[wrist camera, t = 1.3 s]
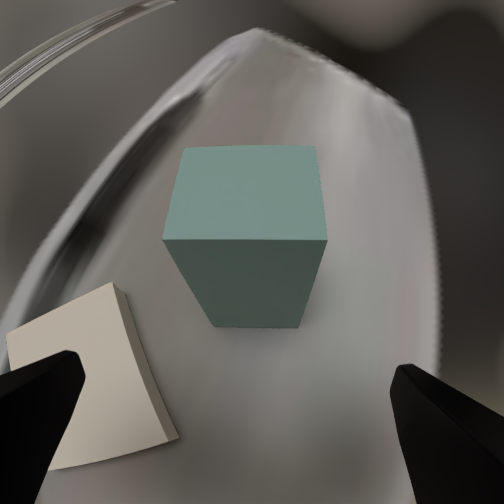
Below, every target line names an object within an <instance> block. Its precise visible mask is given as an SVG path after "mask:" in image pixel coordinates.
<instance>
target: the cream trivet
mask: <svg viewBox="0 0 504 504" xmlns="http://www.w3.org/2000/svg"><path fill="white" fill-rule="evenodd" d="M6 338H7V347H8V354H9V361H10V368H11V371H13V370H15V369H18V368H20V367H23V366H26V365H28V364H31V363H33V362H36V361H38V360H41V359H43V358H46V357H48V356H51V355H53V354H56V353H58V352H61V351H63V350H70V351H75V352H77V353H78V354H79V356H80V359H81V362H82V365H83V368H84V371H85V375H86V379H85V383H84V385H83V388H82V391H81V393H80V396H79V399H78V401H77V404H76V407H75V409H74V412H73V415H72V417H71V420H70V422H69V424H68V427H67V429H66V431H65V433H64V435H63V437H62V439H61V441H60V444H59V446H58V448H57V450H56V452H55V455H54V457H53V459H52V461H51V464H50V466H49V468H48V471H51V470H58V469H64V468H69V467H75V466H80V465H85V464H90V463H94V462H99V461H103V460H107V459H111V458H115V457H119V456H123V455H127V454H130V453H134V452H137V451H141V450H144V449H147V448H151V447H154V446H157V445H160V444H163V443H166V442H169V441H172V440H175V439H178V438H179V436H178V434H177V431H176V429H175V427H174V425H173V423H172V421H171V418H170V416H169V414H168V412H167V409H166V407H165V405H164V402H163V400H162V398H161V395H160V393H159V390H158V388H157V385H156V383H155V380H154V378H153V375H152V373H151V370H150V367H149V365H148V362H147V359H146V357H145V354H144V351H143V348H142V345H141V343H140V340H139V337H138V334H137V331H136V328H135V325H134V321H133V318H132V315H131V312H130V309H129V305H128V302H127V299H126V295H125V294H124V293H123V292H122V291H121V290H120V289H119V288H118V287H117V286H116V285H115V284H114V283H113V282H110V283H108V284H106V285H104V286H102V287H100V288H98V289H96V290H93V291H91V292H89V293H87V294H85V295H83V296H81V297H79V298H77V299H75V300H73V301H71V302H69V303H67V304H65V305H63V306H61V307H59V308H57V309H55V310H53V311H51V312H48V313H46V314H44V315H43V316H41V317H39V318H37V319H35V320H33V321H31V322H29V323H27V324H25V325H23V326H21V327H19V328H17V329H15V330H13V331H11V332H9V333H7V334H6Z"/></svg>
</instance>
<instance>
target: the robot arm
mask: <svg viewBox="0 0 504 504" xmlns="http://www.w3.org/2000/svg"><path fill="white" fill-rule="evenodd" d="M85 379H86V375H85V371H84V368H83V365H82V362H81V359H80V356H79V354H78V353H77V352H75V351H70V350H63V351H61V352H58V353H56V354H53V355H51V356H48V357H46V358H43V359H41V360H38V361H36V362H33V363H31V364H28V365H26V366H23V367H20V368H18V369H15V370H13V371H10V372H8V373H5V374H2V375H0V504H34V503H35V500H36V498H37V495H38V493H39V490H40V488H41V485H42V483H43V480H44V478H45V476H46V473H47V471H48V468H49V466H50V464H51V461H52V459H53V457H54V455H55V452H56V450H57V448H58V446H59V444H60V441H61V439H62V437H63V435H64V433H65V431H66V429H67V427H68V424H69V422H70V420H71V417H72V415H73V412H74V409H75V407H76V404H77V401H78V399H79V396H80V393H81V391H82V388H83V385H84V383H85ZM390 398H391V403H392V408H393V412H394V418H395V423H396V428H397V433H398V438H399V442H400V446H401V449H402V452H403V456H404V459H405V463H406V466H407V469H408V473H409V477H410V480H411V484H412V488H413V491H414V495H415V499H416V503H417V504H504V417H503V416H501V415H499V414H498V413H496V412H494V411H493V410H491V409H489V408H487V407H485V406H484V405H482V404H480V403H479V402H477V401H475V400H473V399H472V398H470V397H468V396H467V395H465V394H463V393H461V392H460V391H458V390H456V389H454V388H453V387H451V386H449V385H448V384H446V383H444V382H443V381H441V380H439V379H437V378H436V377H434V376H432V375H431V374H429V373H427V372H425V371H424V370H422V369H420V368H419V367H417V366H415V365H414V364H403V365H399V366H398V367H397V368H396V371H395V374H394V378H393V381H392V384H391V387H390Z"/></svg>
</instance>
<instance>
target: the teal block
mask: <svg viewBox="0 0 504 504" xmlns="http://www.w3.org/2000/svg"><path fill="white" fill-rule="evenodd" d="M162 240H163V242H164V244H165V245H166V247H167V249H168V251H169V253H170V254H171V256H172V258H173V260H174V261H175V263H176V265H177V267H178V268H179V270H180V272H181V273H182V275H183V277H184V279H185V280H186V282H187V284H188V285H189V287H190V289H191V290H192V292H193V294H194V295H195V297H196V299H197V300H198V302H199V304H200V305H201V307H202V309H203V310H204V312H205V313H206V315H207V317H208V318H209V320H210V321H211V323H212V325H213V326H214V327H238V328H298V326H299V323H300V320H301V317H302V315H303V312H304V309H305V306H306V303H307V301H308V298H309V295H310V292H311V289H312V286H313V283H314V280H315V277H316V274H317V271H318V268H319V265H320V262H321V259H322V256H323V253H324V250H325V247H326V244H327V241H328V239H327V230H326V221H325V213H324V205H323V197H322V190H321V183H320V176H319V169H318V163H317V157H316V150H315V146H293V145H243V146H213V147H194V148H184V151H183V155H182V159H181V162H180V166H179V170H178V174H177V178H176V181H175V185H174V189H173V194H172V198H171V202H170V206H169V210H168V215H167V219H166V224H165V228H164V233H163V238H162Z"/></svg>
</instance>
